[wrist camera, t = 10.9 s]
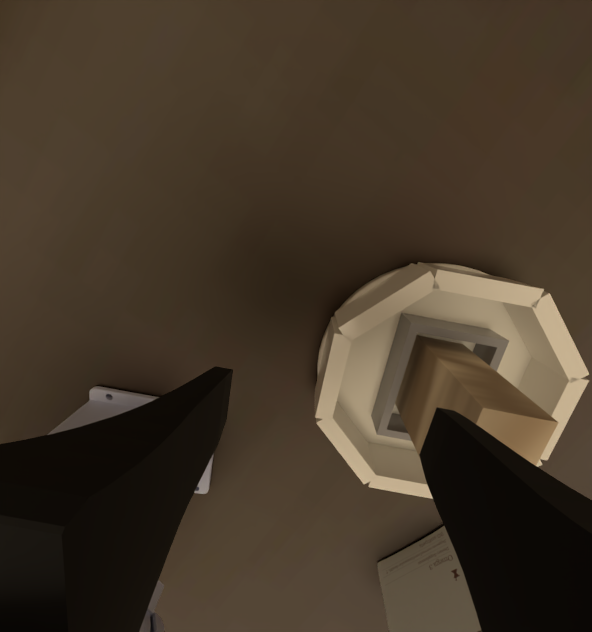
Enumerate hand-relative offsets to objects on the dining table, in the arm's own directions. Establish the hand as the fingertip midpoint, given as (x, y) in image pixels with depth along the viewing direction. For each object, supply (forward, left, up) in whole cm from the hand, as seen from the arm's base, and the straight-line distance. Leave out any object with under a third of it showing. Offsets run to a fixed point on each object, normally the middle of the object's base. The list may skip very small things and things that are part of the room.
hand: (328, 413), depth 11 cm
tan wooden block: (+7, -2, -9) cm, 12 cm away
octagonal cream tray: (+7, -2, -10) cm, 13 cm away
